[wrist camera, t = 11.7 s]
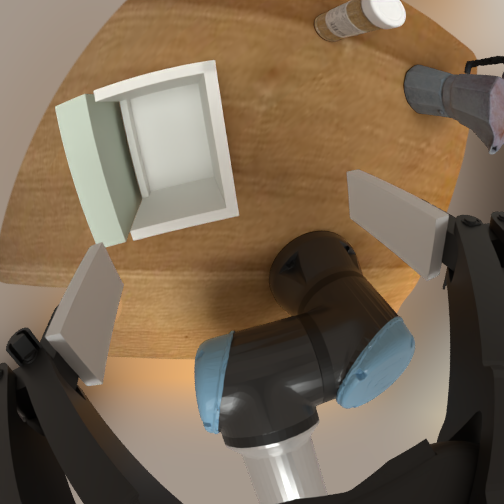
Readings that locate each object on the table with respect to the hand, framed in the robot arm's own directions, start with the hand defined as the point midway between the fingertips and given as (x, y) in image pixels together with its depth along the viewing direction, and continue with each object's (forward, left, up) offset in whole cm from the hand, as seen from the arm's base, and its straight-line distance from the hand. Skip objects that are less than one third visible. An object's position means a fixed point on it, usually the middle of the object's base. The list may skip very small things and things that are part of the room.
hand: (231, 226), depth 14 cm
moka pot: (+8, -36, -23) cm, 43 cm away
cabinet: (+3, +6, -23) cm, 24 cm away
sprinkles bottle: (+16, -19, -23) cm, 34 cm away
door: (+3, +11, -23) cm, 25 cm away
